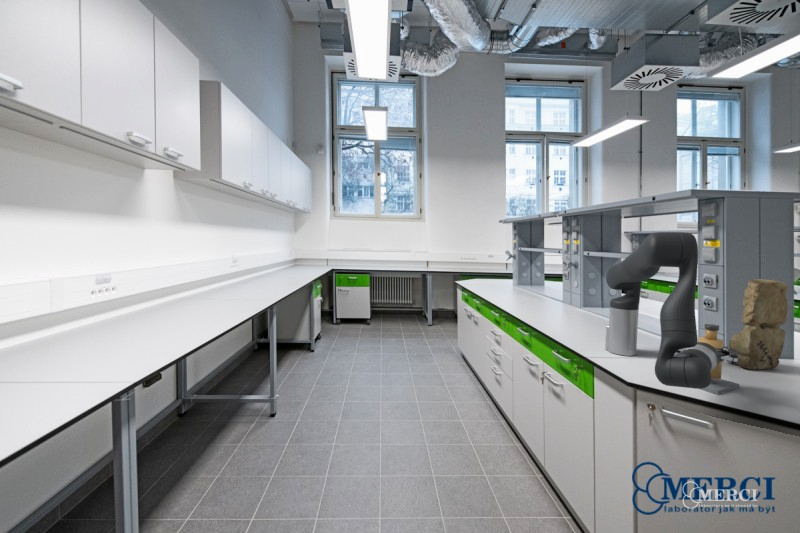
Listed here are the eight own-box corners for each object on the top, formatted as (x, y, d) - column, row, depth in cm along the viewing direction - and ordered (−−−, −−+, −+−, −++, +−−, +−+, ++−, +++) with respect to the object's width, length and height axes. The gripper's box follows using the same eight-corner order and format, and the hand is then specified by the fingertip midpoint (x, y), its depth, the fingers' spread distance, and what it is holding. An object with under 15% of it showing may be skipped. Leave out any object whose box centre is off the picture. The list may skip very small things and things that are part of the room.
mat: (676, 381, 107) (676, 378, 107) (699, 375, 111) (699, 372, 111) (717, 394, 98) (717, 391, 97) (739, 387, 102) (739, 384, 102)
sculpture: (755, 361, 124) (762, 277, 122) (785, 371, 115) (793, 280, 113) (722, 362, 124) (728, 277, 121) (749, 372, 115) (756, 280, 112)
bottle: (691, 373, 106) (695, 323, 105) (702, 371, 108) (705, 322, 107) (714, 380, 100) (718, 328, 99) (725, 377, 103) (729, 326, 102)
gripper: (736, 351, 89) (746, 340, 99) (666, 339, 100) (682, 330, 111) (733, 380, 89) (744, 366, 100) (665, 364, 100) (681, 353, 111)
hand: (711, 347), depth 105 cm, fingers closed on bottle, 5 cm apart
